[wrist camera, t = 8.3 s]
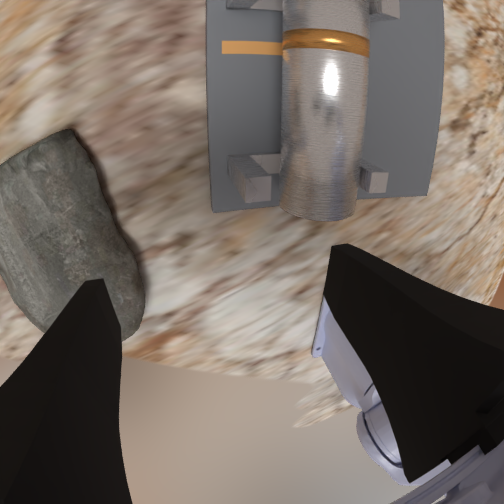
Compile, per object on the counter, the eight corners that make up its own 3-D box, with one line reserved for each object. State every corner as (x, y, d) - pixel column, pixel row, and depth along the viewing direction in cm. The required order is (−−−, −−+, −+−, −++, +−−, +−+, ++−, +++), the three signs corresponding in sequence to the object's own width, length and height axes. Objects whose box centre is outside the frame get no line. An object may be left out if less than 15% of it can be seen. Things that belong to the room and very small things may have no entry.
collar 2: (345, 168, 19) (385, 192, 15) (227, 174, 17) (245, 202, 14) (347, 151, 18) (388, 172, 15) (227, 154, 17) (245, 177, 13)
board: (422, 193, 23) (426, 195, 22) (211, 209, 19) (212, 213, 18) (437, -2, 13) (442, -3, 13) (207, -62, 9) (209, -66, 9)
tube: (322, 186, 19) (370, 212, 16) (264, 196, 18) (308, 228, 14) (330, -17, 12) (385, -28, 9) (266, -33, 10) (316, -58, 7)
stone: (171, 310, 22) (86, 122, 16) (176, 342, 19) (71, 117, 12) (62, 355, 20) (-30, 196, 14) (54, 388, 17) (-58, 210, 10)
